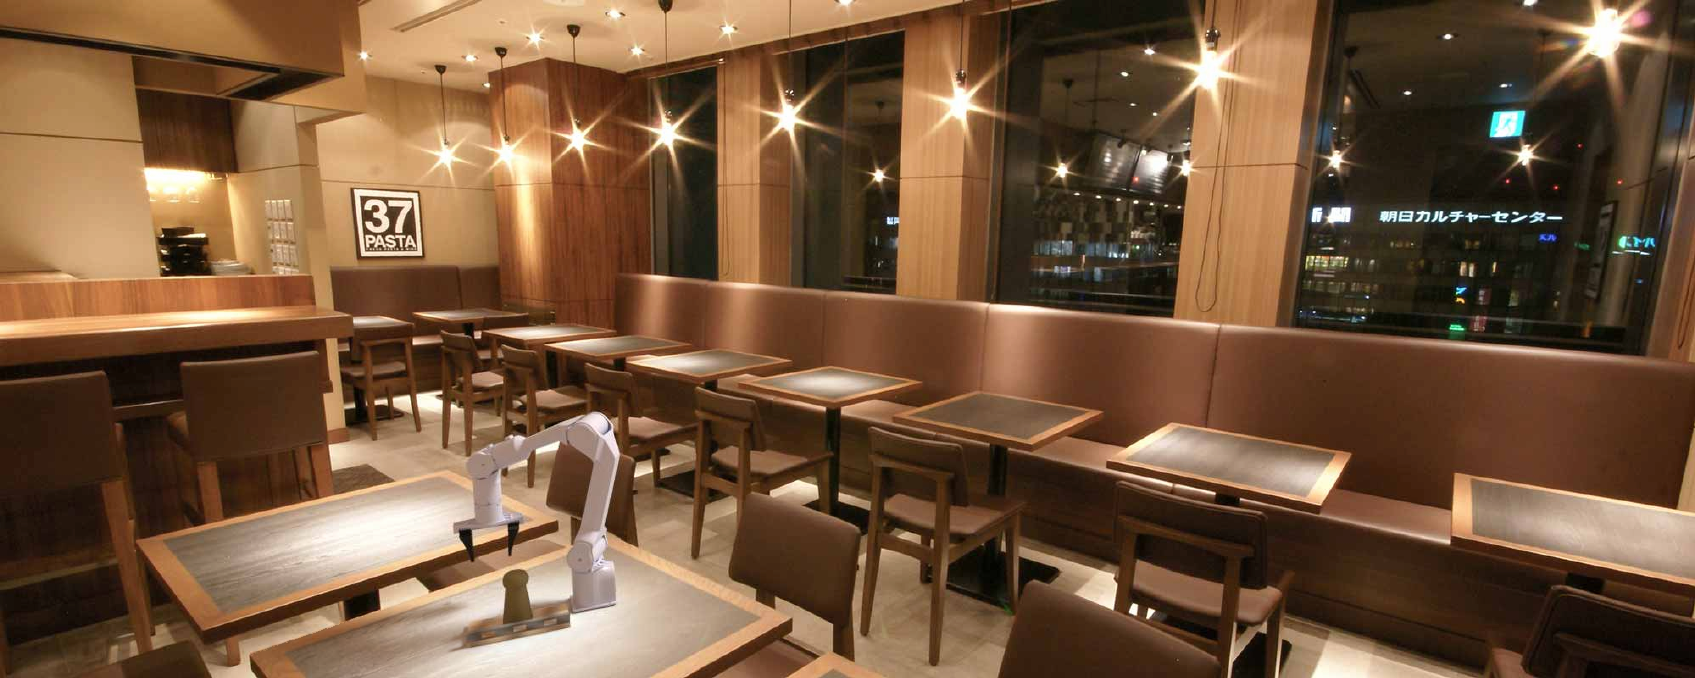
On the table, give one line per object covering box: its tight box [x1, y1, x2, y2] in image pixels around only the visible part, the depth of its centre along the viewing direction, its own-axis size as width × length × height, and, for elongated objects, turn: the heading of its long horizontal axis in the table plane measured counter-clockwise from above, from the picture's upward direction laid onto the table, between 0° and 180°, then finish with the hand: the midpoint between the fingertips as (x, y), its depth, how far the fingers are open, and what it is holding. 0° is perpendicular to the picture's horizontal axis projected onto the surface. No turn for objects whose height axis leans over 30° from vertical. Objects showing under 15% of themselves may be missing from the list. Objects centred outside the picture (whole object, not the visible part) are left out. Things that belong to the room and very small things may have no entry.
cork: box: [502, 568, 533, 624], centre depth 161 cm, size 6×6×11 cm
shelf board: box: [466, 603, 571, 648], centre depth 161 cm, size 20×9×3 cm, turn 115°
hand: (491, 557), depth 171 cm, fingers open, 7 cm apart
